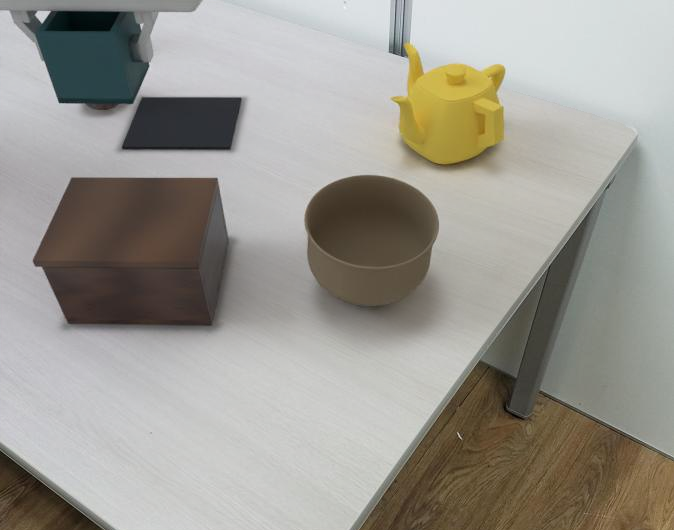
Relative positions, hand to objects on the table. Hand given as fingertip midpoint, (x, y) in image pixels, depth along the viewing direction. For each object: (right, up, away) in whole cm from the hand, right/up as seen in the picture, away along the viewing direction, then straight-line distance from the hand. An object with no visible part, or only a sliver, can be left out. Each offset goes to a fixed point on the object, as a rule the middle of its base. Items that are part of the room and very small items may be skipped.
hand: (98, 58), depth 59 cm
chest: (+1, -18, +15) cm, 23 cm away
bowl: (+24, -19, +13) cm, 33 cm away
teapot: (+34, +1, +31) cm, 46 cm away
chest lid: (0, -13, +9) cm, 15 cm away
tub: (0, -2, +2) cm, 2 cm away
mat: (0, +5, +34) cm, 35 cm away
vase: (-12, +9, +38) cm, 41 cm away
